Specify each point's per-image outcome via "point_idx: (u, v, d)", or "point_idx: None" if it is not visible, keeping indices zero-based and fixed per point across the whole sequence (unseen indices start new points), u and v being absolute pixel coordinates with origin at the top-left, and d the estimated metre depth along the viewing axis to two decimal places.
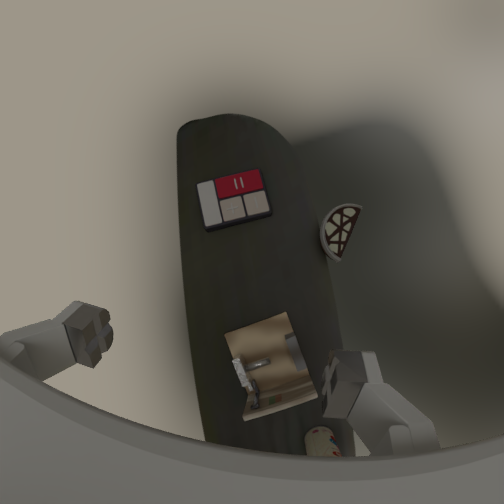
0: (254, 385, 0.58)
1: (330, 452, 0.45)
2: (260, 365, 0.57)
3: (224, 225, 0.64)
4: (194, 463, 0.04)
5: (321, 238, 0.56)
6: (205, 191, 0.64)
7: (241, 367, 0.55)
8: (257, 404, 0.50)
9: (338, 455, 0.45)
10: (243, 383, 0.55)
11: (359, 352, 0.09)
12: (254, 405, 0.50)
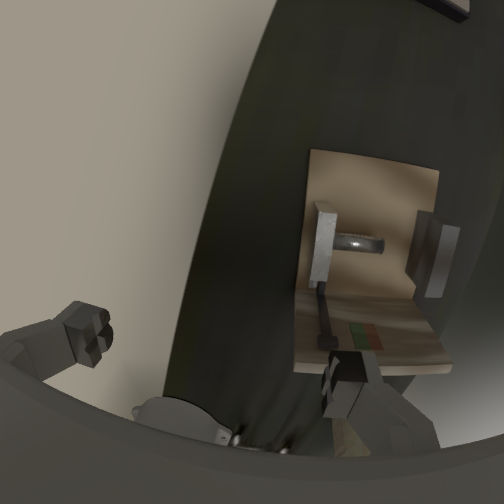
0: None
1: None
2: (361, 249, 0.26)
3: None
4: (194, 464, 0.04)
5: None
6: None
7: (331, 237, 0.24)
8: (335, 340, 0.22)
9: None
10: (315, 273, 0.25)
11: (359, 352, 0.09)
12: (328, 340, 0.22)
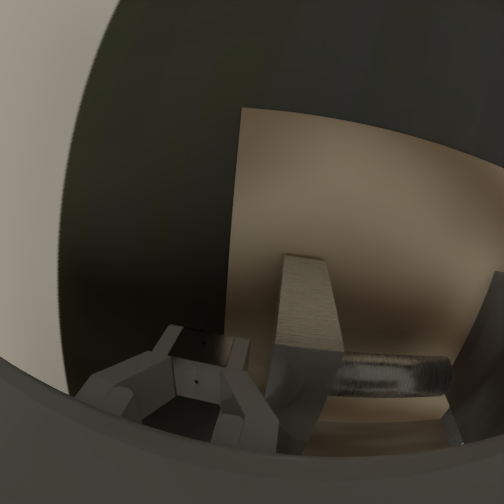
0: None
1: None
2: (395, 396, 0.08)
3: None
4: (194, 463, 0.04)
5: None
6: None
7: (313, 407, 0.07)
8: None
9: None
10: None
11: (232, 337, 0.09)
12: None
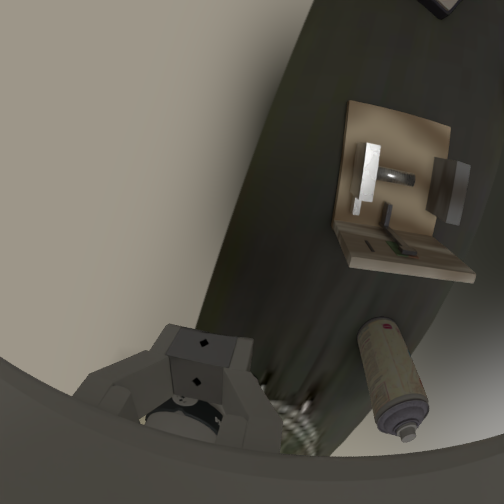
0: (389, 212, 0.32)
1: (418, 380, 0.28)
2: (397, 179, 0.29)
3: None
4: (194, 464, 0.04)
5: None
6: None
7: (376, 164, 0.27)
8: (413, 249, 0.25)
9: None
10: (363, 194, 0.28)
11: (235, 337, 0.09)
12: (408, 249, 0.25)
